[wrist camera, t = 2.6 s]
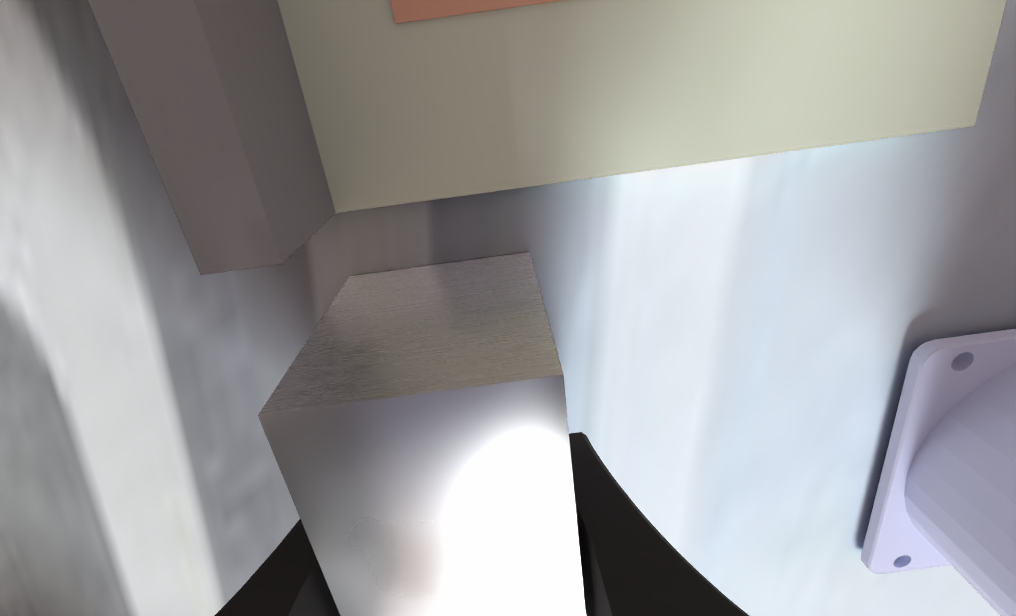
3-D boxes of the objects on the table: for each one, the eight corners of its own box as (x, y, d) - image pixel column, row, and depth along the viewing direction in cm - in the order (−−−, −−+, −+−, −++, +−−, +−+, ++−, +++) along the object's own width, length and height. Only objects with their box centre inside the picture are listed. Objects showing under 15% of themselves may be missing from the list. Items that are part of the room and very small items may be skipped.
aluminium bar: (349, 276, 11) (257, 415, 7) (529, 251, 11) (563, 374, 6) (427, 558, 15) (404, 769, 10) (561, 540, 15) (597, 745, 10)
